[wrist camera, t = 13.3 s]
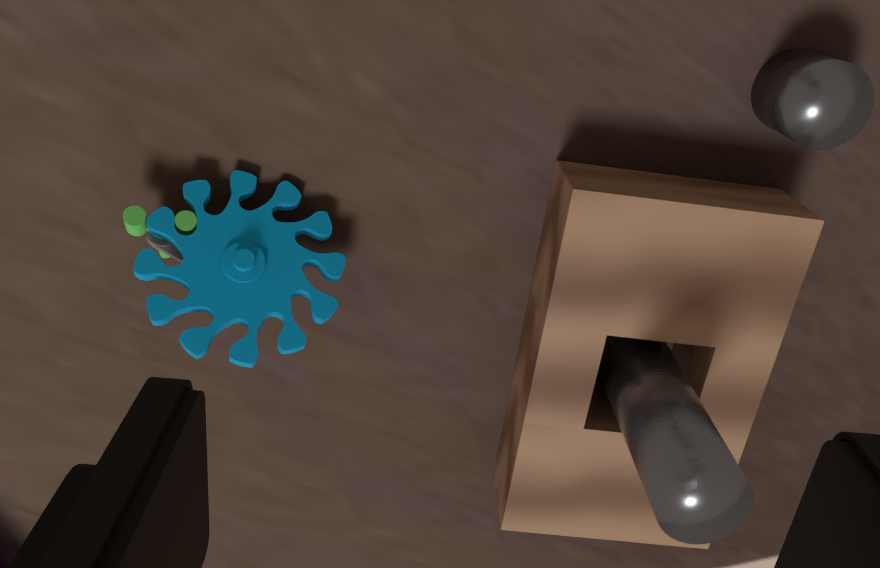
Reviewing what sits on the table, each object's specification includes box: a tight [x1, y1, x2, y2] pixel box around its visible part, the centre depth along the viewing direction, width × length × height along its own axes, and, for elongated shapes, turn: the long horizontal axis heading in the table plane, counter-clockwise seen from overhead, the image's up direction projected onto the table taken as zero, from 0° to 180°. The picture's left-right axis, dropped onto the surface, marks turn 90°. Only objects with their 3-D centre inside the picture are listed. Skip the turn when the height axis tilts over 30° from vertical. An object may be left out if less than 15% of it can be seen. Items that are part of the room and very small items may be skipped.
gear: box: [123, 170, 346, 367], centre depth 40 cm, size 11×6×10 cm
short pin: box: [751, 49, 874, 150], centre depth 37 cm, size 4×4×4 cm
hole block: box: [494, 160, 825, 549], centre depth 42 cm, size 20×12×5 cm, turn 172°
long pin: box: [598, 335, 754, 544], centre depth 38 cm, size 4×4×14 cm
